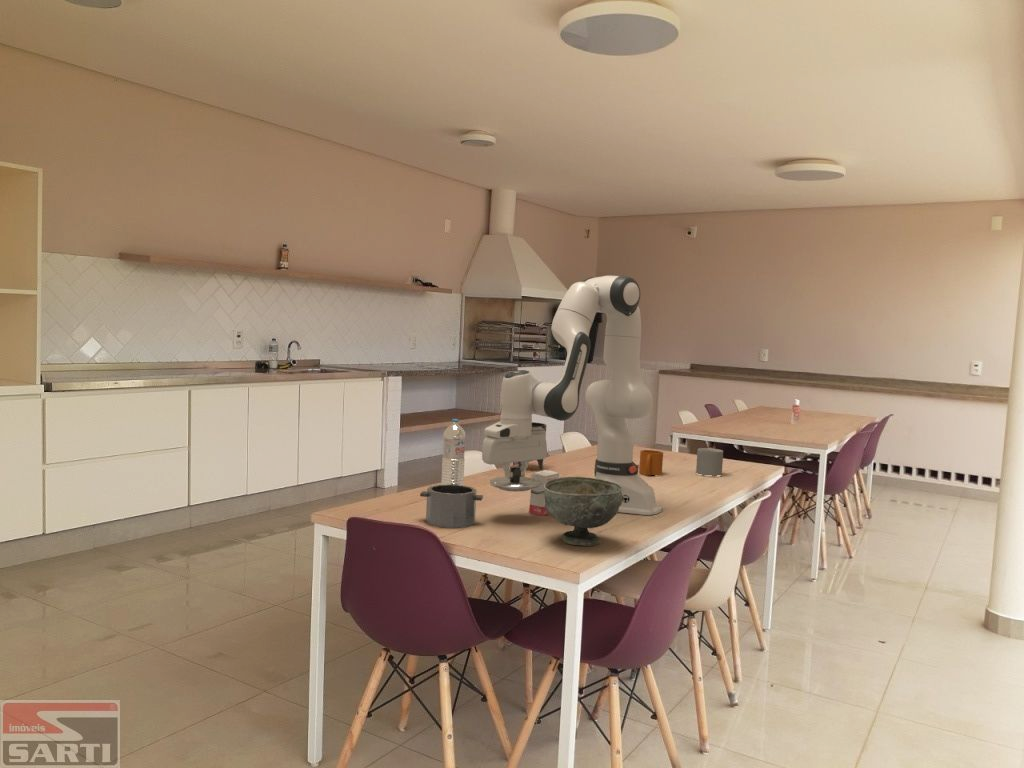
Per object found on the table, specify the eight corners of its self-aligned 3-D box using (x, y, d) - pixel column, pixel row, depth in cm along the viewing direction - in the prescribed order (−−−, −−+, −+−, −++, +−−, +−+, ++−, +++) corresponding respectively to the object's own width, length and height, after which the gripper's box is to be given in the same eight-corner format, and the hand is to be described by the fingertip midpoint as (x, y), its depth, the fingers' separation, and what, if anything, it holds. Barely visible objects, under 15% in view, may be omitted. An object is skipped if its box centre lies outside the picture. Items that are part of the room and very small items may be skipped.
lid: (545, 485, 226) (546, 465, 226) (530, 495, 213) (531, 474, 212) (499, 480, 231) (500, 461, 230) (482, 490, 217) (482, 469, 217)
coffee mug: (717, 478, 307) (719, 452, 306) (692, 474, 311) (694, 449, 311) (726, 473, 318) (728, 449, 317) (702, 470, 323) (704, 446, 322)
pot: (484, 518, 221) (485, 486, 220) (477, 529, 208) (479, 496, 207) (425, 514, 223) (426, 482, 222) (415, 525, 210) (416, 491, 209)
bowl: (531, 545, 196) (534, 485, 195) (555, 528, 214) (558, 473, 213) (608, 556, 189) (612, 494, 188) (626, 538, 207) (630, 482, 206)
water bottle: (445, 502, 239) (449, 420, 238) (437, 497, 245) (440, 418, 244) (466, 501, 242) (470, 420, 241) (457, 496, 248) (460, 417, 247)
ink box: (543, 516, 228) (545, 475, 227) (528, 513, 231) (530, 473, 230) (557, 511, 235) (559, 471, 234) (543, 508, 238) (545, 469, 237)
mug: (632, 475, 304) (633, 452, 304) (644, 471, 314) (645, 449, 314) (653, 478, 300) (655, 454, 299) (665, 474, 310) (666, 451, 309)
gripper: (539, 424, 229) (538, 471, 230) (479, 429, 217) (478, 478, 218) (552, 427, 224) (551, 475, 225) (491, 432, 212) (491, 483, 213)
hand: (514, 477), depth 222 cm, fingers closed on lid, 3 cm apart
